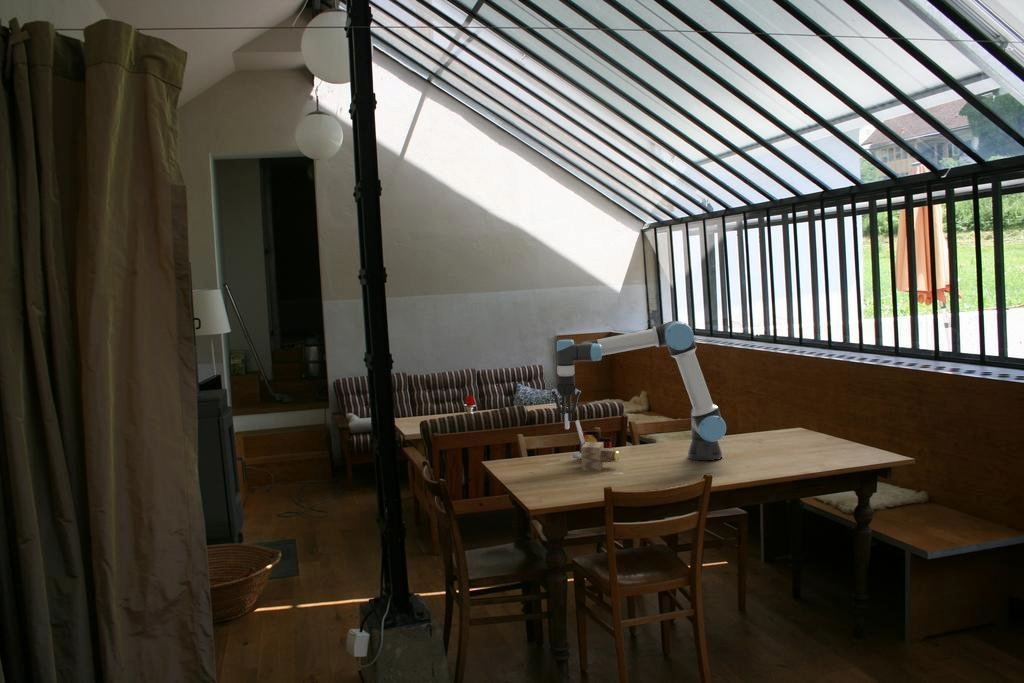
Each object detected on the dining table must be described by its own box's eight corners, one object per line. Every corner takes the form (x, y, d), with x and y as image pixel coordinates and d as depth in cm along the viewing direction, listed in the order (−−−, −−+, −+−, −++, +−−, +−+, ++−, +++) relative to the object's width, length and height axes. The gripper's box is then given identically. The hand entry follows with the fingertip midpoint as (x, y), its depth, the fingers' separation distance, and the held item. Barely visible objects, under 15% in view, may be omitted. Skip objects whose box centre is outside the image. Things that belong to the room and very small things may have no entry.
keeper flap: (578, 419, 369) (576, 420, 369) (576, 421, 364) (575, 421, 365) (585, 441, 369) (583, 442, 369) (583, 443, 364) (581, 444, 365)
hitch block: (615, 464, 370) (614, 440, 369) (611, 470, 358) (611, 445, 358) (585, 464, 373) (584, 439, 372) (580, 470, 362) (579, 444, 361)
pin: (619, 460, 366) (619, 450, 365) (618, 463, 361) (617, 452, 361) (574, 459, 371) (573, 449, 370) (572, 461, 366) (571, 451, 366)
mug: (612, 460, 381) (611, 433, 380) (582, 461, 378) (582, 435, 377) (606, 455, 390) (605, 430, 389) (577, 457, 388) (576, 432, 387)
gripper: (582, 374, 368) (583, 427, 370) (553, 374, 372) (554, 426, 373) (579, 376, 361) (580, 430, 363) (549, 376, 364) (550, 429, 366)
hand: (567, 428), depth 368 cm, fingers closed
